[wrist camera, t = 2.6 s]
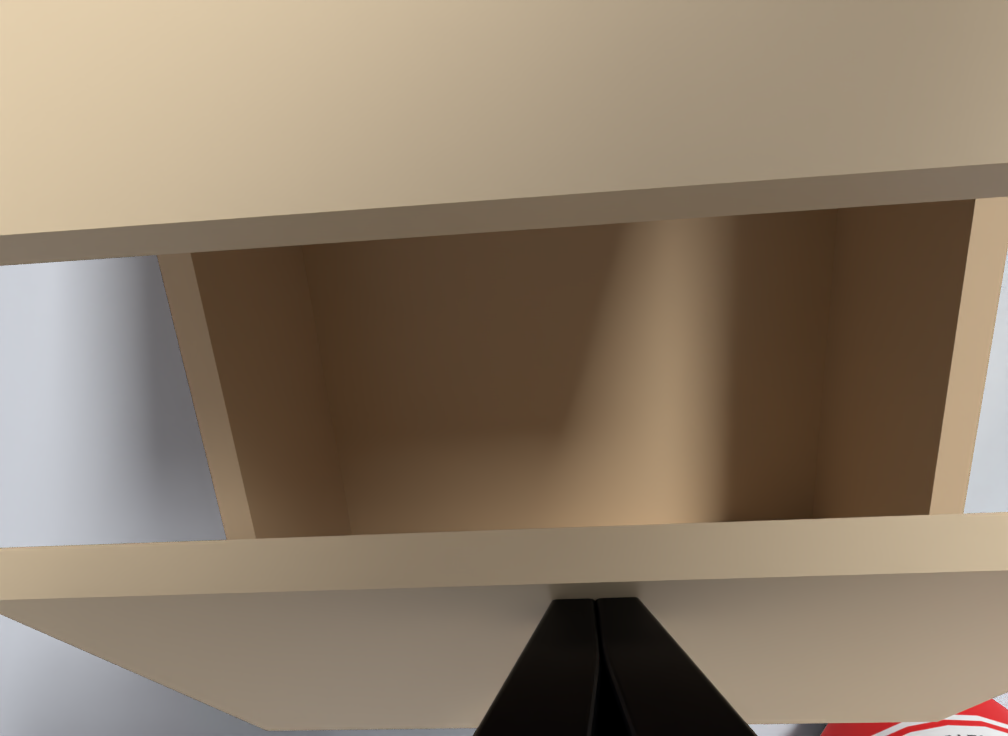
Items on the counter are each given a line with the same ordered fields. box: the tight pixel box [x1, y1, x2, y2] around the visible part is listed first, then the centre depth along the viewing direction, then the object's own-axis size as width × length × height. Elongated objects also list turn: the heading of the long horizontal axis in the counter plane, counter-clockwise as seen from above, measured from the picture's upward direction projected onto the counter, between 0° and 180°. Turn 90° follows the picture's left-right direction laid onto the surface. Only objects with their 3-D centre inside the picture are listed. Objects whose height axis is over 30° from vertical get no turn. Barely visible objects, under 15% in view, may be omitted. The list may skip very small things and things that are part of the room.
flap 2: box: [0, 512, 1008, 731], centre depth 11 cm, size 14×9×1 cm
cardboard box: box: [157, 197, 1008, 540], centre depth 15 cm, size 14×18×6 cm
